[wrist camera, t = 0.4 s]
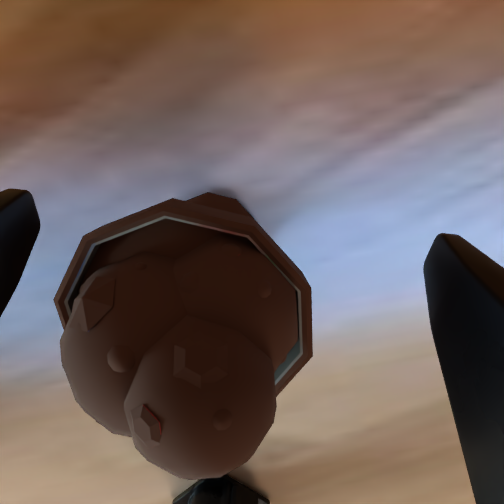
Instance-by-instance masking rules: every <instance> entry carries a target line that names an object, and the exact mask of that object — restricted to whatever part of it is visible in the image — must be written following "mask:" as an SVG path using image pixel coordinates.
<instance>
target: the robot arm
mask: <svg viewBox="0 0 504 504" xmlns="http://www.w3.org/2000/svg"><path fill="white" fill-rule="evenodd" d="M39 231H40V219H39V216H38V212H37V209H36V206H35V202H34V199H33V196H32V194H31V193H30V192H29V191H27V190H21V189H6V190H4V191H1V192H0V317H1V315H2V313H3V311H4V310H5V308H6V306H7V304H8V302H9V300H10V299H11V297H12V295H13V293H14V291H15V289H16V287H17V285H18V283H19V281H20V278H21V276H22V274H23V271H24V269H25V266H26V264H27V261H28V259H29V256H30V254H31V251H32V249H33V246H34V244H35V241H36V239H37V236H38V234H39ZM423 271H424V279H425V287H426V295H427V302H428V310H429V318H430V325H431V330H432V334H433V339H434V343H435V347H436V350H437V354H438V358H439V362H440V366H441V370H442V374H443V377H444V381H445V385H446V389H447V393H448V397H449V401H450V405H451V408H452V412H453V416H454V420H455V424H456V428H457V432H458V435H459V439H460V443H461V447H462V451H463V455H464V459H465V463H466V466H467V470H468V474H469V478H470V482H471V486H472V490H473V493H474V497H475V501H476V504H504V268H503V267H502V266H500V265H499V264H497V263H496V262H495V261H493V260H492V259H491V258H489V257H488V256H487V255H485V254H484V253H482V252H481V251H480V250H478V249H477V248H476V247H474V246H473V245H472V244H470V243H469V242H468V241H466V240H465V239H463V238H462V237H461V236H459V235H456V234H446V233H441V234H439V235H437V236H436V238H435V240H434V242H433V244H432V246H431V248H430V251H429V253H428V255H427V257H426V259H425V262H424V268H423ZM172 504H270V501H269V500H268V499H266V498H265V497H263V496H261V495H260V494H258V493H256V492H255V491H253V490H251V489H250V488H248V487H246V486H245V485H243V484H241V483H240V482H238V481H236V480H235V479H233V478H231V477H230V476H228V475H226V474H225V475H223V476H222V477H218V478H206V479H200V480H199V481H198V482H196V483H195V484H194V485H192V486H191V487H190V488H188V489H187V490H186V491H184V492H183V493H182V494H180V495H179V496H178V497H176V498H175V499H174V500H173V503H172Z"/></svg>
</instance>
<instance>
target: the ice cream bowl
mask: <svg viewBox="0 0 504 504" xmlns="http://www.w3.org/2000/svg"><path fill="white" fill-rule="evenodd" d="M53 300H54V303H55V306H56V309H57V312H58V314H59V317H60V320H61V323H62V326H63V329H64V332H63V334H62V337H61V339H60V349H61V361H62V366H63V368H64V370H65V372H66V375H67V378H68V381H69V383H70V386H71V389H72V392H73V394H74V397H75V400H76V402H77V403H78V404H79V405H80V406H81V408H82V409H83V410H84V411H85V412H86V413H87V414H88V415H90V416H91V417H92V418H94V419H95V420H96V422H97V423H99V424H101V425H102V426H104V427H105V428H106V429H108V430H109V431H110V432H111V433H113V434H119V435H124V436H129V437H132V438H133V441H134V445H135V448H136V449H137V450H138V451H139V452H140V453H141V454H142V455H143V456H144V457H145V458H146V460H147V461H149V462H151V463H153V464H155V465H156V466H158V467H160V468H162V469H164V470H166V471H168V472H169V473H171V474H173V475H175V476H177V477H179V478H183V479H188V480H193V479H206V478H218V477H222V476H223V475H225V474H227V473H228V472H230V471H232V470H234V469H235V468H237V467H239V466H240V465H242V464H244V463H246V462H247V461H248V460H249V459H250V458H251V456H252V455H253V454H254V453H255V451H256V449H257V448H258V446H259V445H260V443H261V442H262V440H263V438H264V437H265V435H266V434H267V432H268V431H269V429H270V427H271V426H272V424H273V423H274V417H275V412H276V397H277V395H278V394H279V393H280V392H281V391H282V390H283V389H284V388H285V387H286V385H287V384H288V383H289V382H290V381H291V380H292V379H293V378H294V376H295V375H296V374H297V373H298V372H299V371H300V370H301V369H302V367H303V366H304V365H305V364H306V363H307V362H308V361H309V360H310V359H311V357H312V356H313V351H312V299H311V287H310V285H309V283H308V281H307V280H306V278H305V276H304V274H303V273H302V271H301V270H300V269H299V268H298V267H297V266H296V265H295V264H294V263H293V261H292V260H291V259H290V258H289V257H288V256H287V255H286V254H285V253H284V252H283V250H282V249H281V248H280V247H279V246H278V245H277V244H276V243H275V242H274V241H273V239H272V238H271V237H270V236H269V235H268V234H267V233H266V232H265V231H264V229H263V228H262V227H261V226H260V225H259V224H258V223H257V222H256V221H255V219H254V218H253V217H252V216H251V215H250V214H249V213H248V212H247V211H246V209H245V208H244V207H243V206H242V205H241V204H240V203H239V202H238V201H237V200H236V199H233V198H229V197H225V196H221V195H217V194H212V193H205V194H202V195H200V196H197V197H195V198H192V199H190V200H187V201H182V200H178V199H174V198H172V199H169V200H167V201H164V202H162V203H159V204H157V205H154V206H151V207H149V208H146V209H144V210H141V211H139V212H136V213H134V214H131V215H129V216H126V217H124V218H121V219H119V220H116V221H114V222H111V223H109V224H106V225H104V226H101V227H99V228H97V229H96V230H94V231H92V232H90V233H88V234H86V235H84V236H83V237H82V240H81V242H80V244H79V246H78V248H77V250H76V252H75V254H74V257H73V259H72V261H71V263H70V265H69V267H68V269H67V272H66V274H65V276H64V278H63V280H62V282H61V284H60V286H59V289H58V291H57V293H56V295H55V297H54V299H53Z"/></svg>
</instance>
